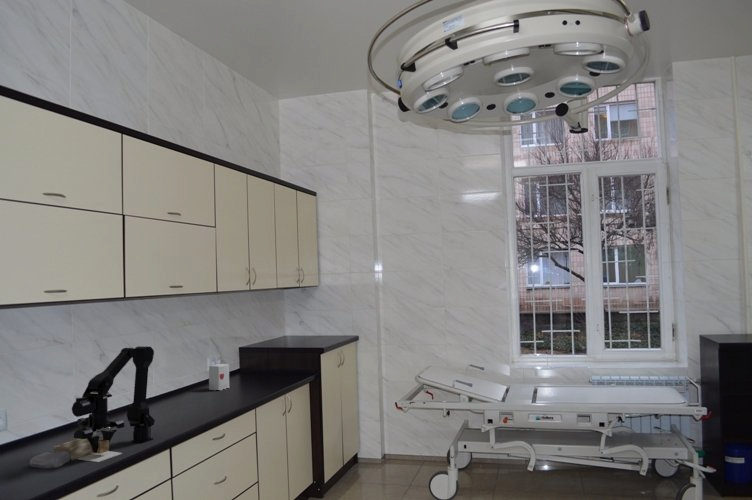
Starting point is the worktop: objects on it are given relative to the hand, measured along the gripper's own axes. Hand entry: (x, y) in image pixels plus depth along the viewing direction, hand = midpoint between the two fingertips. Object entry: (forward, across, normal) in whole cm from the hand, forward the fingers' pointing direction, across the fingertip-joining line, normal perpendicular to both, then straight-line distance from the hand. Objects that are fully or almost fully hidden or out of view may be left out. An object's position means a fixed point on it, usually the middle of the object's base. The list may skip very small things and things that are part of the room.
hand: (100, 451), depth 222 cm
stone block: (+2, +14, -11) cm, 18 cm away
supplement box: (+2, -124, -47) cm, 133 cm away
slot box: (+2, -1, -12) cm, 12 cm away
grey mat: (+2, 0, 0) cm, 2 cm away
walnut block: (0, 0, 0) cm, 0 cm away
